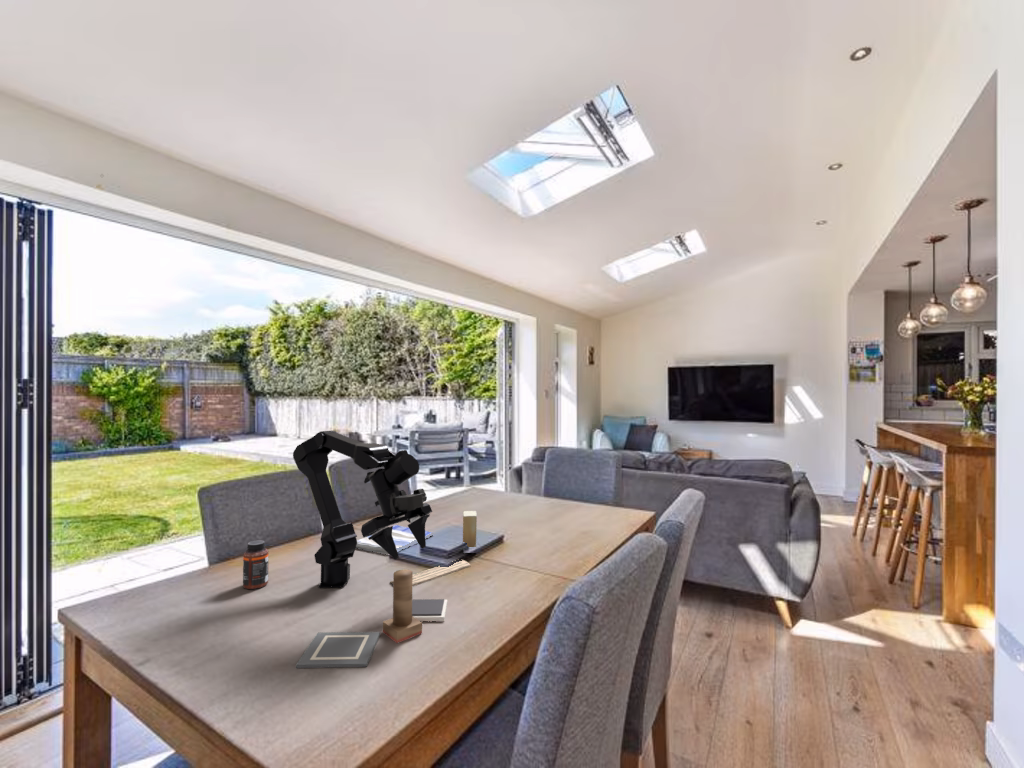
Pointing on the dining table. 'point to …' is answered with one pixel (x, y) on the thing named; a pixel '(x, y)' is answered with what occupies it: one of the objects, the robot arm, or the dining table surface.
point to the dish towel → (400, 538)
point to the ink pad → (429, 609)
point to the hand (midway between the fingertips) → (410, 553)
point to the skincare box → (469, 528)
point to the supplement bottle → (255, 565)
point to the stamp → (402, 609)
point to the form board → (339, 650)
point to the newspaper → (437, 572)
